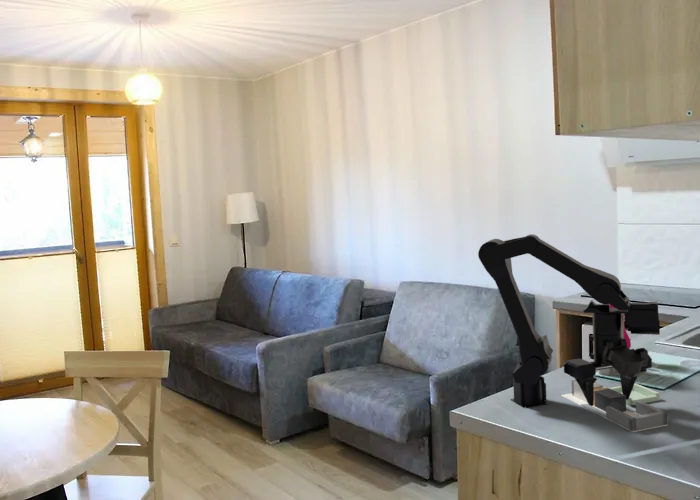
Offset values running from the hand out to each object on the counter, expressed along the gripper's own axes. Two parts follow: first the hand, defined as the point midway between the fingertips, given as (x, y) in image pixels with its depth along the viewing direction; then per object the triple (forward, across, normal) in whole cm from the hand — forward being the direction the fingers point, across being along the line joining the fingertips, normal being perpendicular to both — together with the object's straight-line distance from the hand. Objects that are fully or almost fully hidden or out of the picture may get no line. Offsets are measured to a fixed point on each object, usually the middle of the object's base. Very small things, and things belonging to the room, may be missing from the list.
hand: (608, 402), depth 138 cm
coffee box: (+2, +18, +23) cm, 29 cm away
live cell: (+1, 0, 0) cm, 1 cm away
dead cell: (+1, 0, +8) cm, 8 cm away
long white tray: (+2, 0, 0) cm, 2 cm away
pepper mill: (+2, +27, +31) cm, 41 cm away
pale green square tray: (+2, +9, +4) cm, 10 cm away
